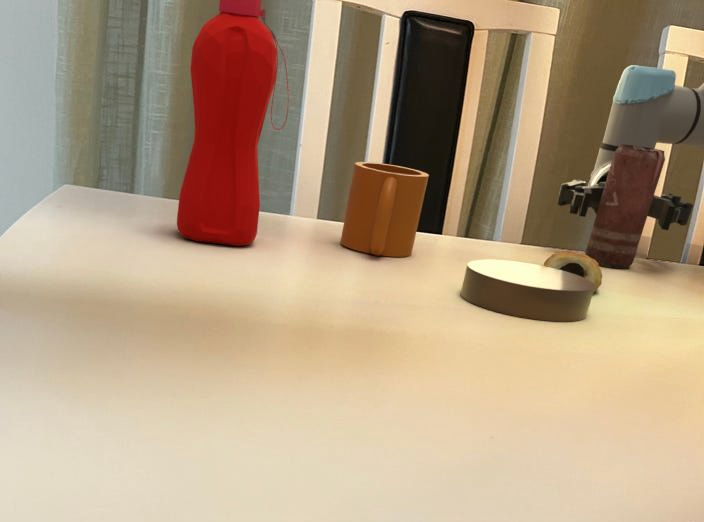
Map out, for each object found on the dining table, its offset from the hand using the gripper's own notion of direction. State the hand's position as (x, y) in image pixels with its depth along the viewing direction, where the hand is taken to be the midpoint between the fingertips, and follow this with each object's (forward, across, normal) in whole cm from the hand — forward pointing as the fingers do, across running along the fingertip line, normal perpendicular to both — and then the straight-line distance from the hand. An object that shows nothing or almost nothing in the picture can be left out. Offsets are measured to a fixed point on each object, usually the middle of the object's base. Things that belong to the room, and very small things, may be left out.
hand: (626, 211), depth 125 cm
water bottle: (+25, +44, -7) cm, 51 cm away
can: (-4, 0, -7) cm, 8 cm away
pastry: (+16, +5, -7) cm, 18 cm away
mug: (+15, +28, -7) cm, 33 cm away
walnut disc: (+31, +10, -7) cm, 33 cm away
